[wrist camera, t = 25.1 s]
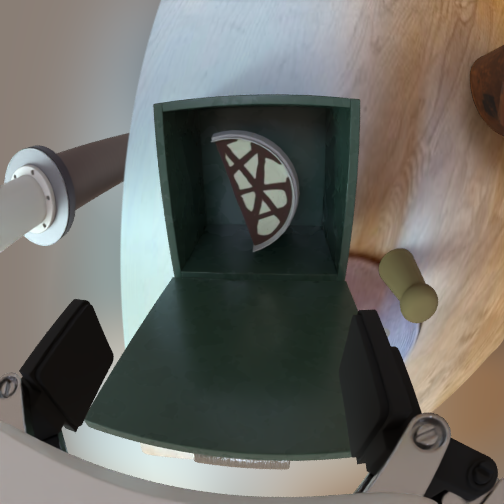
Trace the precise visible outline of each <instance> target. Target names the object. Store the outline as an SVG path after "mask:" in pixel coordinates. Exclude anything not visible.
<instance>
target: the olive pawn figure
mask: <svg viewBox="0 0 504 504" xmlns="http://www.w3.org/2000/svg"><path fill="white" fill-rule="evenodd" d="M379 275H380V277H381V278H382V280H383V281H384V282H385V283H386V285H387V286H388V287H389V288H390V290H391V291H392V292H393V293H394V295H395V296H396V297H397V298H398V300H399V301H400V308H401V312H402V314H403V316H404V318H405V319H406V320H408V321H410V322H412V323H421V322H424V321H426V320H427V319H429V318H430V317H431V316H432V315H433V314H434V313H435V311H436V309H437V306H438V297H437V294H436V292H435V290H434V289H433V288H432V287H431V286H429V285H428V284H425V281H424V279H423V277H422V275H421V272H420V270H419V268H418V266H417V264H416V262H415V260H414V258H413V256H412V254H411V253H410V252H409V251H408V250H405V249H395V250H392V251H390V252H389V253H387V254H386V255H385V256H384V257H383V259H382V260H381V262H380V264H379Z"/></svg>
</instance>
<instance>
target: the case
mask: <svg viewBox="0 0 504 504" xmlns="http://www.w3.org/2000/svg"><path fill="white" fill-rule="evenodd" d="M470 84H471V91H472V96H473V100H474V103H475V105H476V107H477V109H478V111H479V113H480V115H481V117H482V118H483V119H484V121H485V122H486V123H487V124H488V125H489V126H490V127H491V128H492V129H493V130H494V131H495V132H497V133H498V134H500V135H502V136H504V45H503V46H501V47H499V48H498V49H496V50H494V51H492V52H490V53H488V54H487V55H484V56H482V57H480V58H479V59H477V60H476V61H475V63H474V64H473V66H472V69H471V73H470Z"/></svg>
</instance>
